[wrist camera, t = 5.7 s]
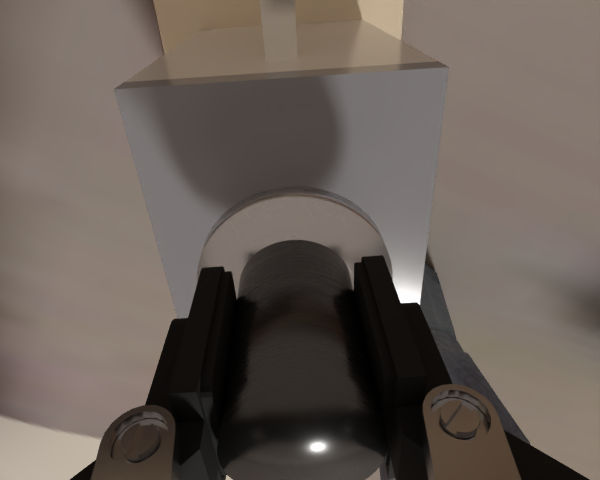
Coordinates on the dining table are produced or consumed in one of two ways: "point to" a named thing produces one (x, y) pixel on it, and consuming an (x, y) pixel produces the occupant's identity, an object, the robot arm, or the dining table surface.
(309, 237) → the plunger
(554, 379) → the dining table surface
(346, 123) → the white box
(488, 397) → the moka pot
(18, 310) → the dining table surface
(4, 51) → the dining table surface
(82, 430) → the dining table surface
